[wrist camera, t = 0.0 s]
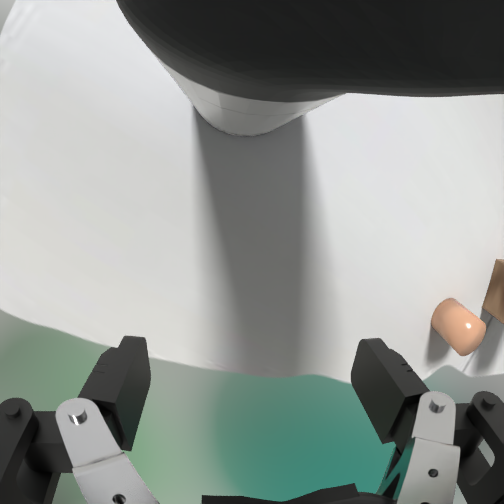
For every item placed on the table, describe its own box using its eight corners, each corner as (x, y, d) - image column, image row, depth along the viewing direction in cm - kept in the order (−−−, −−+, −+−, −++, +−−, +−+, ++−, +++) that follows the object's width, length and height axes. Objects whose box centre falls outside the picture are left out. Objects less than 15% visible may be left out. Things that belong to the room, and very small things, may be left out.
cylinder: (437, 299, 31) (466, 323, 25) (462, 297, 31) (490, 319, 26) (426, 332, 32) (452, 358, 27) (451, 328, 33) (477, 352, 27)
